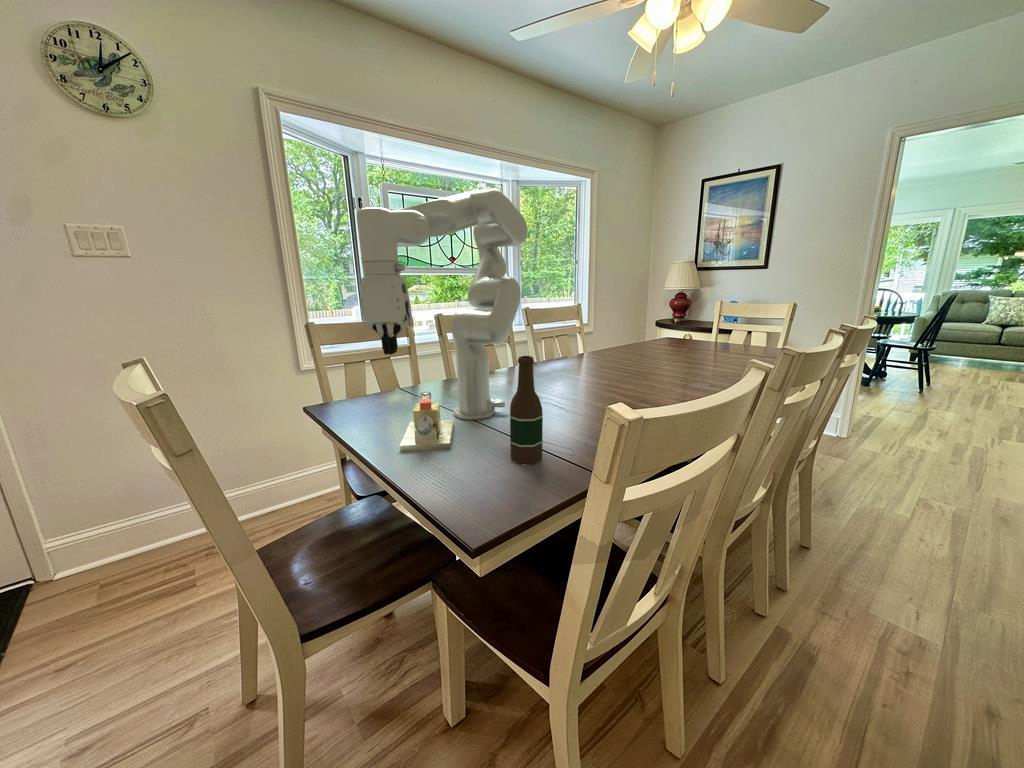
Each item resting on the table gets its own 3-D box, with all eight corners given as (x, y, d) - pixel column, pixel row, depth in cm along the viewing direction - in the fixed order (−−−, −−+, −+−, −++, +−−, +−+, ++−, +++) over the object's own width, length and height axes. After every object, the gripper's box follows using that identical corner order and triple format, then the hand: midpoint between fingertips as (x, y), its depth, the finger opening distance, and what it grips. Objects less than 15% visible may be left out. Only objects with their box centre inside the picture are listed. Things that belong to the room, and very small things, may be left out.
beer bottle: (517, 468, 87) (516, 362, 81) (504, 454, 94) (502, 355, 87) (548, 461, 90) (550, 358, 84) (533, 448, 97) (533, 352, 90)
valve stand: (453, 424, 113) (451, 389, 110) (450, 448, 97) (447, 408, 94) (410, 426, 112) (407, 391, 109) (400, 451, 96) (396, 410, 93)
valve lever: (421, 398, 103) (420, 391, 102) (431, 397, 103) (430, 390, 103) (420, 410, 93) (419, 403, 93) (431, 409, 94) (430, 402, 93)
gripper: (420, 269, 88) (427, 350, 93) (359, 270, 90) (369, 349, 96) (406, 269, 81) (414, 357, 86) (340, 271, 83) (351, 356, 89)
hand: (390, 353), depth 91 cm, fingers closed
